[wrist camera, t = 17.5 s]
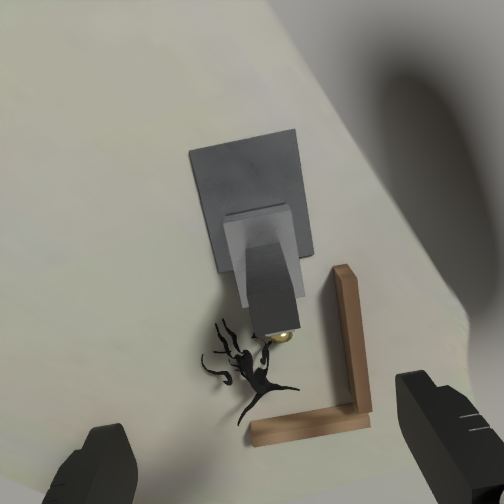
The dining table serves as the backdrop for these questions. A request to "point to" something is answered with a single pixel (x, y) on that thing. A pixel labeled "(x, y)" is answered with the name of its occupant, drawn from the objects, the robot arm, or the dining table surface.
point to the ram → (267, 269)
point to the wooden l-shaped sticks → (358, 380)
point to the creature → (248, 370)
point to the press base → (251, 186)
